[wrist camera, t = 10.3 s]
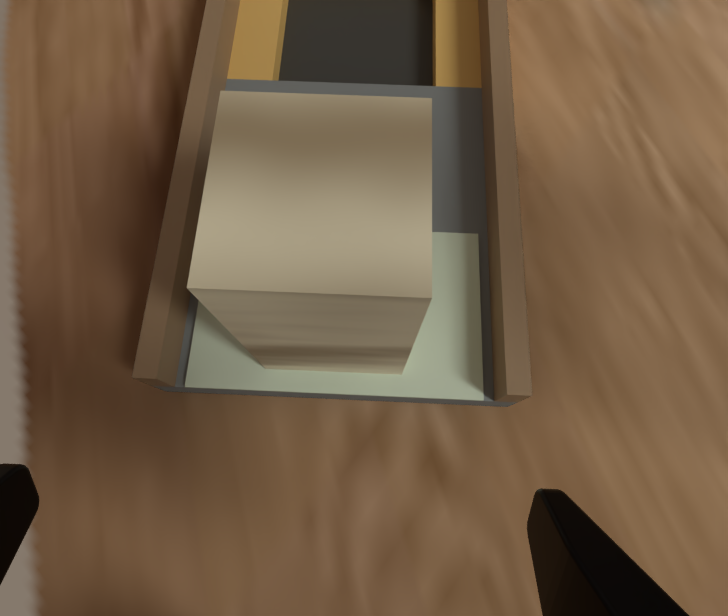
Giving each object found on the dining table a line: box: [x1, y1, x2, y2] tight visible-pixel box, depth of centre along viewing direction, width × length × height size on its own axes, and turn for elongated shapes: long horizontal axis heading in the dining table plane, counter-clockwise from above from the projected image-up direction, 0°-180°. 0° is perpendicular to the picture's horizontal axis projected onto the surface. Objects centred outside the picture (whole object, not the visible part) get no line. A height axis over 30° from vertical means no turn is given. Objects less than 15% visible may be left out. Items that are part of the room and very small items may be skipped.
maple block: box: [187, 91, 432, 375], centre depth 17 cm, size 6×6×10 cm
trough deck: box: [132, 0, 532, 407], centre depth 25 cm, size 27×16×4 cm, turn 177°
